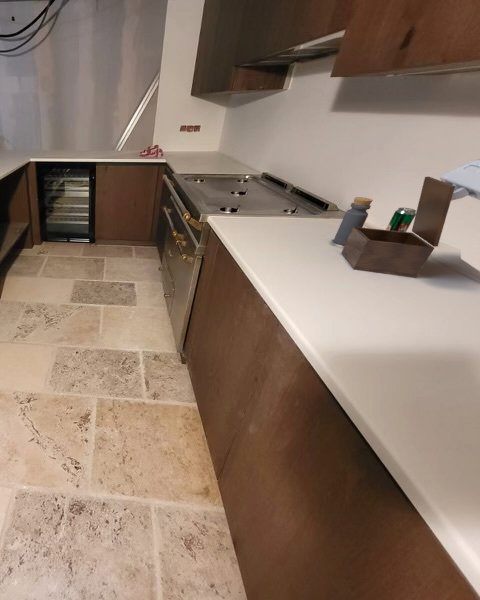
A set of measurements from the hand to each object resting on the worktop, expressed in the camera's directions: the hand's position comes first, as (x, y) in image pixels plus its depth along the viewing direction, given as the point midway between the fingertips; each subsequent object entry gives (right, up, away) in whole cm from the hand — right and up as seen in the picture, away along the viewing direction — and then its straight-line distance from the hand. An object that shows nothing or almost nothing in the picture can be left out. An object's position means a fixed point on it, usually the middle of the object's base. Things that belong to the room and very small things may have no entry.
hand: (437, 201), depth 85 cm
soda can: (+11, -7, +25) cm, 28 cm away
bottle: (-3, -7, +26) cm, 27 cm away
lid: (-1, -2, +1) cm, 3 cm away
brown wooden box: (-6, -15, +11) cm, 20 cm away
